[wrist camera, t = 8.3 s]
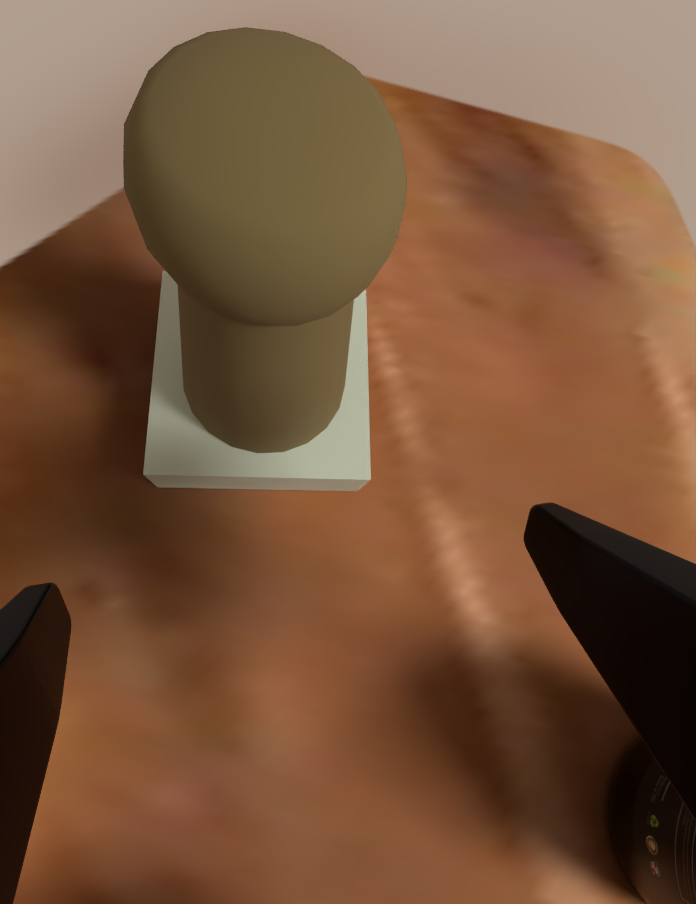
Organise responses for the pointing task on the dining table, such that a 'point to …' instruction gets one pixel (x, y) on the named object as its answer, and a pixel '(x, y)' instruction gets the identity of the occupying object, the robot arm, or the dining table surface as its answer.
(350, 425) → the base brick
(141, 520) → the dining table surface
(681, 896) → the supplement bottle
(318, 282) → the cork
